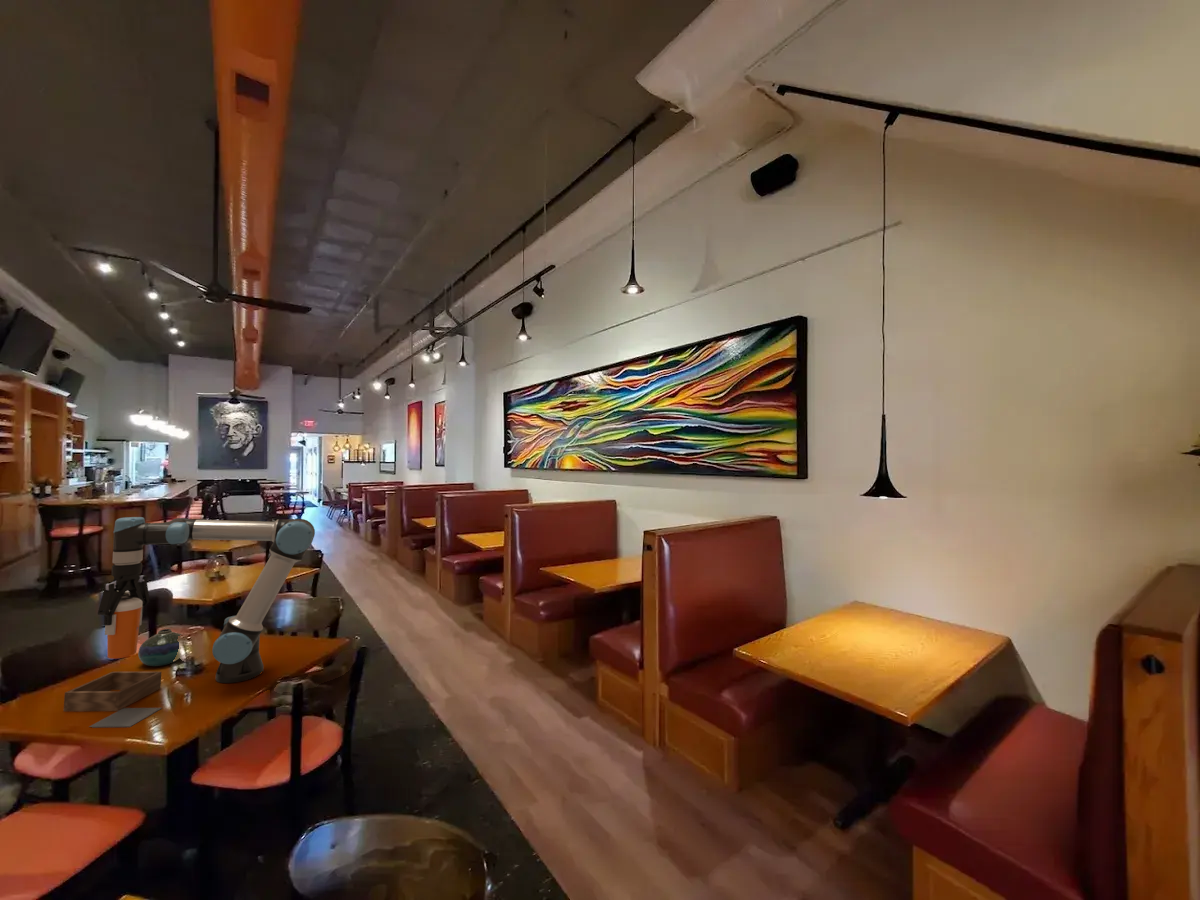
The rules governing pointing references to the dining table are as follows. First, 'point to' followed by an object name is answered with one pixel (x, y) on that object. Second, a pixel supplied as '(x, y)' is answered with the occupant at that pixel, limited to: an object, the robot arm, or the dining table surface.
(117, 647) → the shaker bottle
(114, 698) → the square wooden frame
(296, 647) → the dining table surface
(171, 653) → the vase
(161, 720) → the dining table surface
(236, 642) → the robot arm
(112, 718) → the slate board
